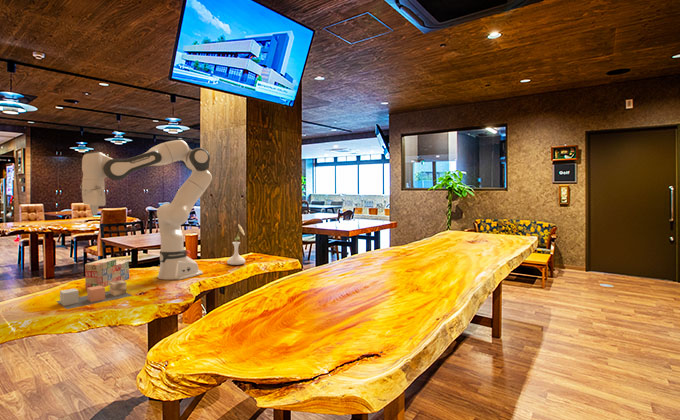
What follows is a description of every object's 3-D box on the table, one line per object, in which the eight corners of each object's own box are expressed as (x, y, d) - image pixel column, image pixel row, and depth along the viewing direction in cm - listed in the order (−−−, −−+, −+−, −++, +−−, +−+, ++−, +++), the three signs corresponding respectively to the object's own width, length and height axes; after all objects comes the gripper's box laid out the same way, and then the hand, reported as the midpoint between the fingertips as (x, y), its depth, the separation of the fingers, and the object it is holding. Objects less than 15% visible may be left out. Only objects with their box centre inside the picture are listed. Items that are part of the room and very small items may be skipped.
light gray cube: (74, 300, 152) (74, 288, 152) (78, 302, 149) (78, 290, 148) (60, 302, 148) (59, 290, 148) (63, 305, 145) (63, 293, 145)
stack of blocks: (118, 278, 189) (117, 254, 188) (129, 278, 188) (129, 255, 188) (85, 289, 168) (84, 263, 167) (97, 290, 167) (97, 264, 166)
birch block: (122, 290, 166) (121, 280, 165) (126, 293, 163) (126, 282, 162) (109, 293, 162) (109, 282, 162) (114, 295, 159) (113, 284, 158)
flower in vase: (239, 266, 221) (240, 226, 219) (223, 265, 223) (223, 225, 222) (250, 262, 233) (250, 223, 232) (234, 261, 236) (234, 223, 234)
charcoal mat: (120, 290, 168) (120, 289, 168) (132, 296, 160) (132, 295, 160) (56, 302, 150) (56, 301, 150) (66, 310, 141) (66, 309, 141)
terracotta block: (101, 296, 157) (100, 285, 157) (105, 299, 154) (104, 287, 153) (87, 299, 153) (87, 287, 153) (91, 302, 150) (90, 290, 150)
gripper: (109, 186, 170) (109, 215, 171) (94, 185, 183) (94, 212, 184) (93, 186, 165) (94, 216, 166) (79, 185, 178) (79, 213, 179)
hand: (94, 214), depth 175 cm, fingers closed
